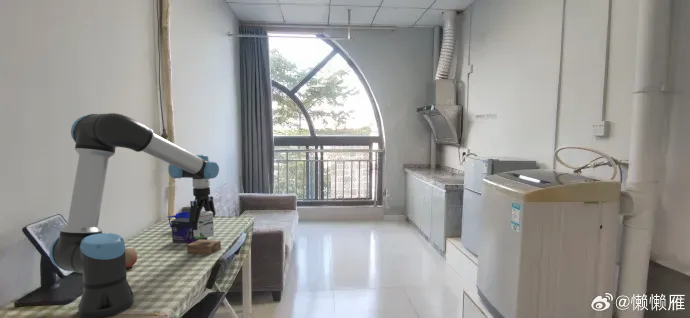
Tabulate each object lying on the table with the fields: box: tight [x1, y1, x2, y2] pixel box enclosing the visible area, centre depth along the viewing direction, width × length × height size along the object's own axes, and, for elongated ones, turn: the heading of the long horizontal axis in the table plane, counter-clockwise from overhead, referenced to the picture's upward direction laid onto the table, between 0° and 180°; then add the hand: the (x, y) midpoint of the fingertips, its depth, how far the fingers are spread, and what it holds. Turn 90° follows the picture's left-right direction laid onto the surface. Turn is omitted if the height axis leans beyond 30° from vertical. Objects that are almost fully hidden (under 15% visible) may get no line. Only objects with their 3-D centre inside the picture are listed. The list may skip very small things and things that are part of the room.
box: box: [170, 218, 208, 245], centre depth 186 cm, size 17×7×12 cm, turn 76°
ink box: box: [193, 210, 215, 239], centre depth 170 cm, size 9×5×12 cm, turn 123°
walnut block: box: [186, 239, 222, 256], centre depth 171 cm, size 9×12×4 cm
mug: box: [168, 211, 190, 229], centre depth 209 cm, size 8×12×10 cm
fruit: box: [125, 247, 138, 269], centre depth 151 cm, size 8×8×8 cm
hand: (203, 233), depth 171 cm, fingers closed on ink box, 9 cm apart
